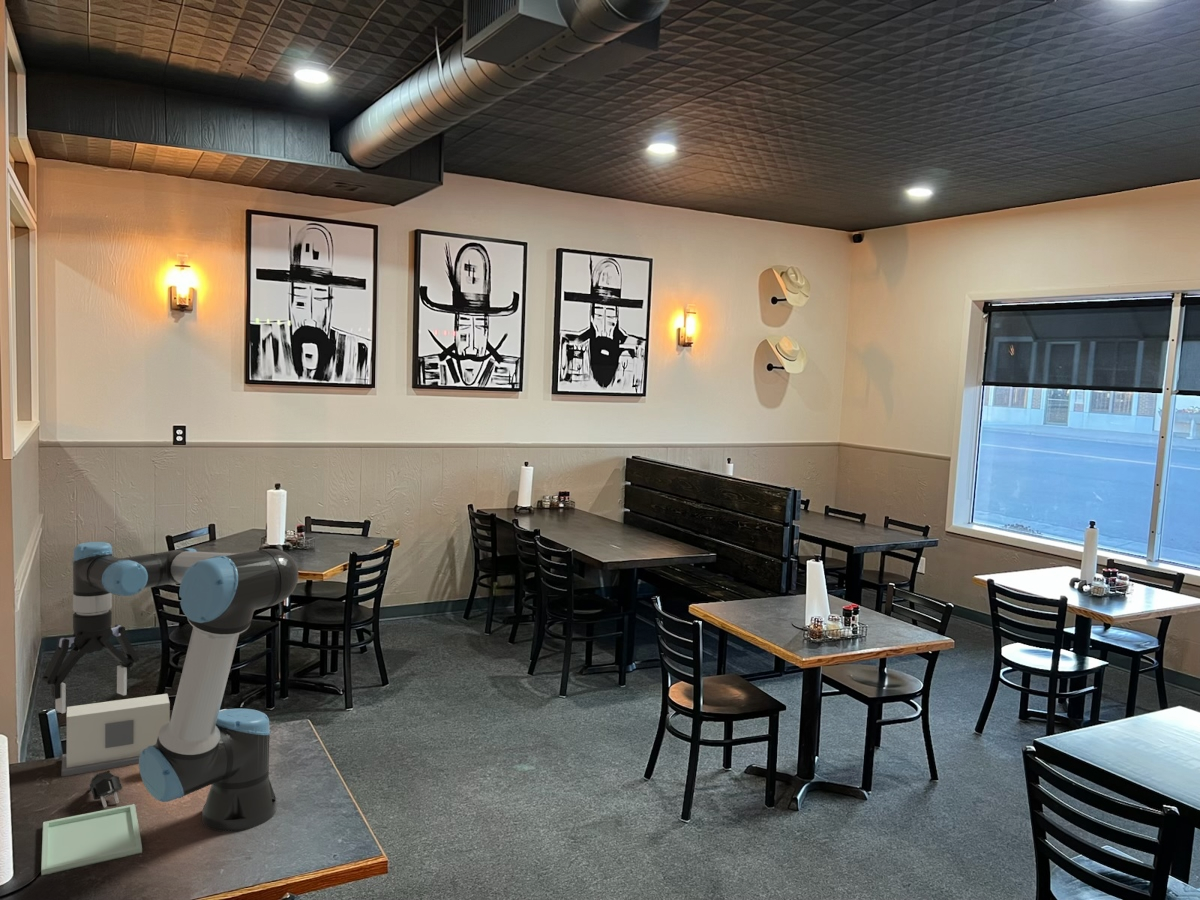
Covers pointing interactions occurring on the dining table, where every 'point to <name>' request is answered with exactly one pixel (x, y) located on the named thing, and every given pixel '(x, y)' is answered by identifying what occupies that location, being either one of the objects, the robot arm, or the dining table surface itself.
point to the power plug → (105, 786)
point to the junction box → (112, 732)
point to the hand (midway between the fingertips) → (92, 702)
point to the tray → (90, 839)
